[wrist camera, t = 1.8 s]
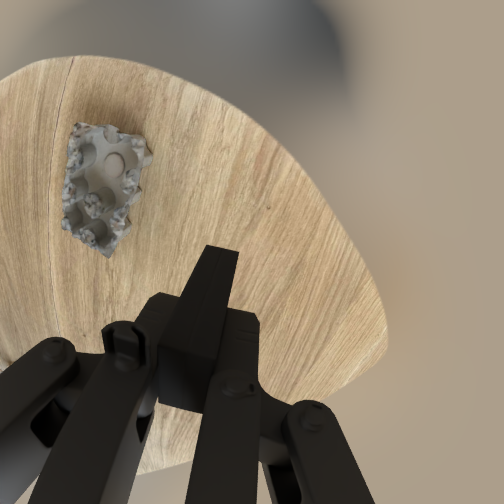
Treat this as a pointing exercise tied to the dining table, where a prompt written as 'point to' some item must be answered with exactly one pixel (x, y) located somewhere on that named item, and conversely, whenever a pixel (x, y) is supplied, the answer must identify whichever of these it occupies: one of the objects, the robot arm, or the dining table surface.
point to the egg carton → (102, 184)
